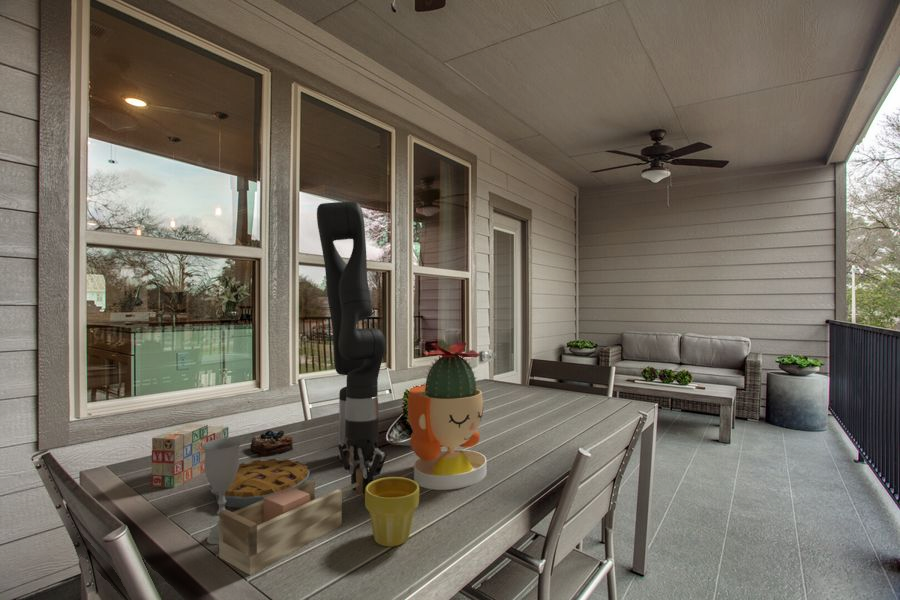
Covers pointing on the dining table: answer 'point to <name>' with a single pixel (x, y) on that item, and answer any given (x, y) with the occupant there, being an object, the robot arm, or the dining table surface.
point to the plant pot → (391, 508)
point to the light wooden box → (276, 530)
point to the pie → (263, 481)
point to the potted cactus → (447, 422)
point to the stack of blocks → (181, 453)
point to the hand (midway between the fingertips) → (361, 491)
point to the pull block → (298, 498)
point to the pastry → (271, 443)
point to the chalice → (221, 472)
